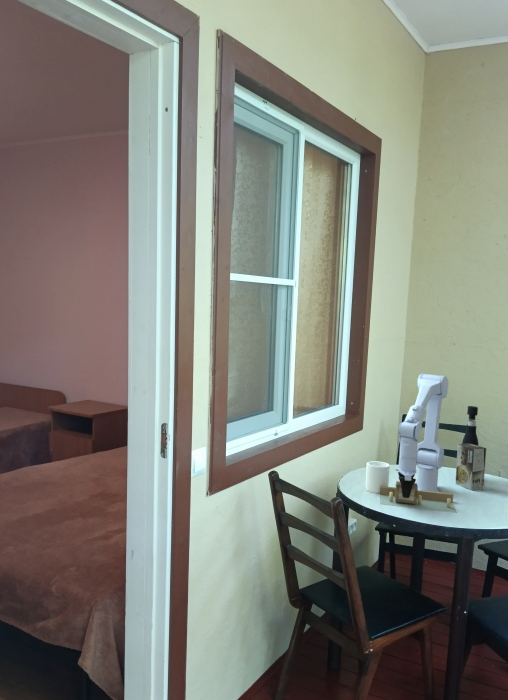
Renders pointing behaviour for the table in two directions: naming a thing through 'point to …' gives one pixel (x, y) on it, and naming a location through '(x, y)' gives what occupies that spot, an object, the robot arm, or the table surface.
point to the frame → (413, 494)
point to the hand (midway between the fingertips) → (405, 495)
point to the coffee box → (470, 466)
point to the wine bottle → (471, 427)
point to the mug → (376, 476)
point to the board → (420, 500)
